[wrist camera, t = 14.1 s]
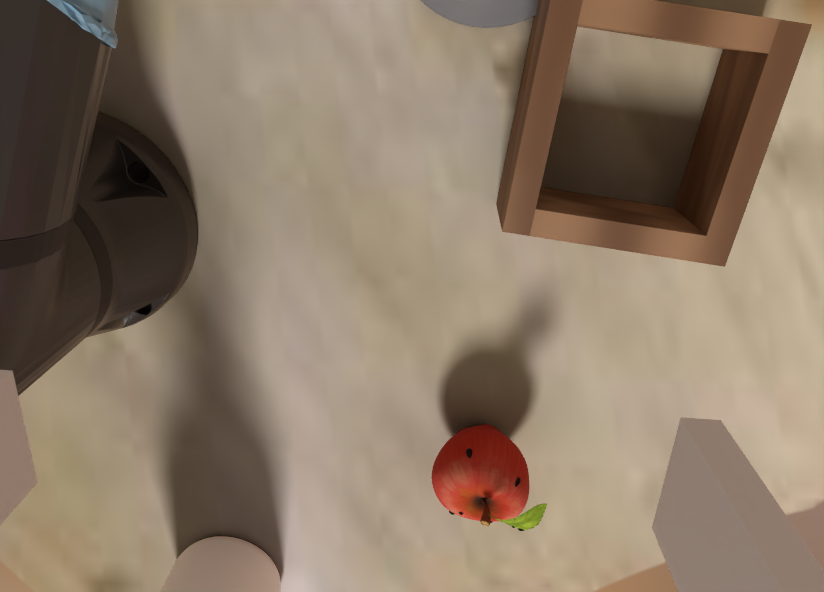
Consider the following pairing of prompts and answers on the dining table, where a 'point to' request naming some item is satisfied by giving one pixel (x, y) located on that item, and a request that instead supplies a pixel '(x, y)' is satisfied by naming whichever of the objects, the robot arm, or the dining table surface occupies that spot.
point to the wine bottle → (223, 568)
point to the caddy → (713, 148)
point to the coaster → (484, 11)
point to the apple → (484, 478)
